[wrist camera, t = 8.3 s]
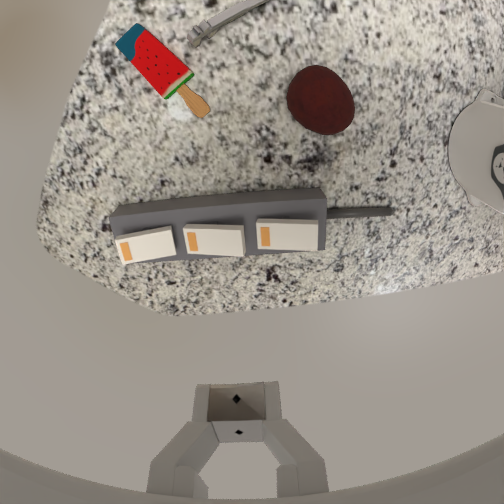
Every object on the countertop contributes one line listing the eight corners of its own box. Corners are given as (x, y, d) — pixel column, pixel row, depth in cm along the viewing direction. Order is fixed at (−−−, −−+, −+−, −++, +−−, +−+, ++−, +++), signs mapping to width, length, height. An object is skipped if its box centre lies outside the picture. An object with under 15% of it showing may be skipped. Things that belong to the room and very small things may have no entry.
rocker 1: (171, 225, 37) (171, 230, 35) (176, 250, 38) (176, 255, 37) (116, 236, 35) (114, 241, 34) (123, 259, 37) (122, 265, 36)
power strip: (393, 185, 39) (409, 199, 35) (387, 231, 42) (401, 248, 38) (119, 205, 40) (105, 220, 35) (131, 249, 43) (119, 268, 39)
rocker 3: (318, 219, 35) (318, 225, 34) (317, 245, 37) (317, 251, 36) (257, 218, 36) (255, 223, 35) (259, 244, 38) (257, 249, 37)
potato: (292, 137, 36) (300, 146, 31) (276, 72, 32) (282, 70, 27) (349, 126, 35) (366, 134, 30) (335, 62, 31) (351, 59, 26)
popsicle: (190, 127, 34) (112, 46, 28) (192, 126, 35) (116, 47, 29) (220, 102, 33) (139, 20, 27) (221, 101, 34) (142, 22, 28)
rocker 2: (243, 225, 35) (240, 230, 34) (246, 251, 37) (243, 257, 36) (186, 223, 37) (182, 228, 35) (191, 248, 38) (187, 254, 37)
